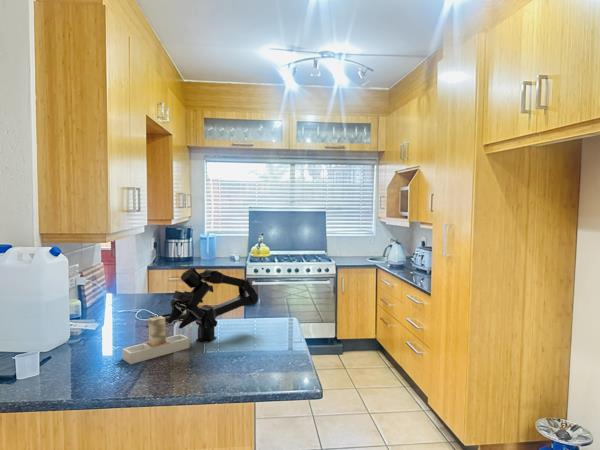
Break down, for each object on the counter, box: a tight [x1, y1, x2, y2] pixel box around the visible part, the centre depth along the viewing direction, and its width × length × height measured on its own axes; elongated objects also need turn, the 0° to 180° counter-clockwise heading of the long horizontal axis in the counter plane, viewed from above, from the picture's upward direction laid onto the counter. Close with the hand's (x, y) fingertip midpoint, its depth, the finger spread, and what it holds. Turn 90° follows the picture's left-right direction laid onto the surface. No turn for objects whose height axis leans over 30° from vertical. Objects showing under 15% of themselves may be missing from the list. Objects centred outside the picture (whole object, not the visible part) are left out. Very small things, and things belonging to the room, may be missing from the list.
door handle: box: [150, 312, 186, 324], centre depth 204 cm, size 3×20×16 cm
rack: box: [121, 333, 190, 365], centre depth 157 cm, size 24×7×4 cm, turn 136°
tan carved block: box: [148, 315, 167, 347], centre depth 157 cm, size 5×4×13 cm
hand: (173, 325), depth 162 cm, fingers open, 9 cm apart
